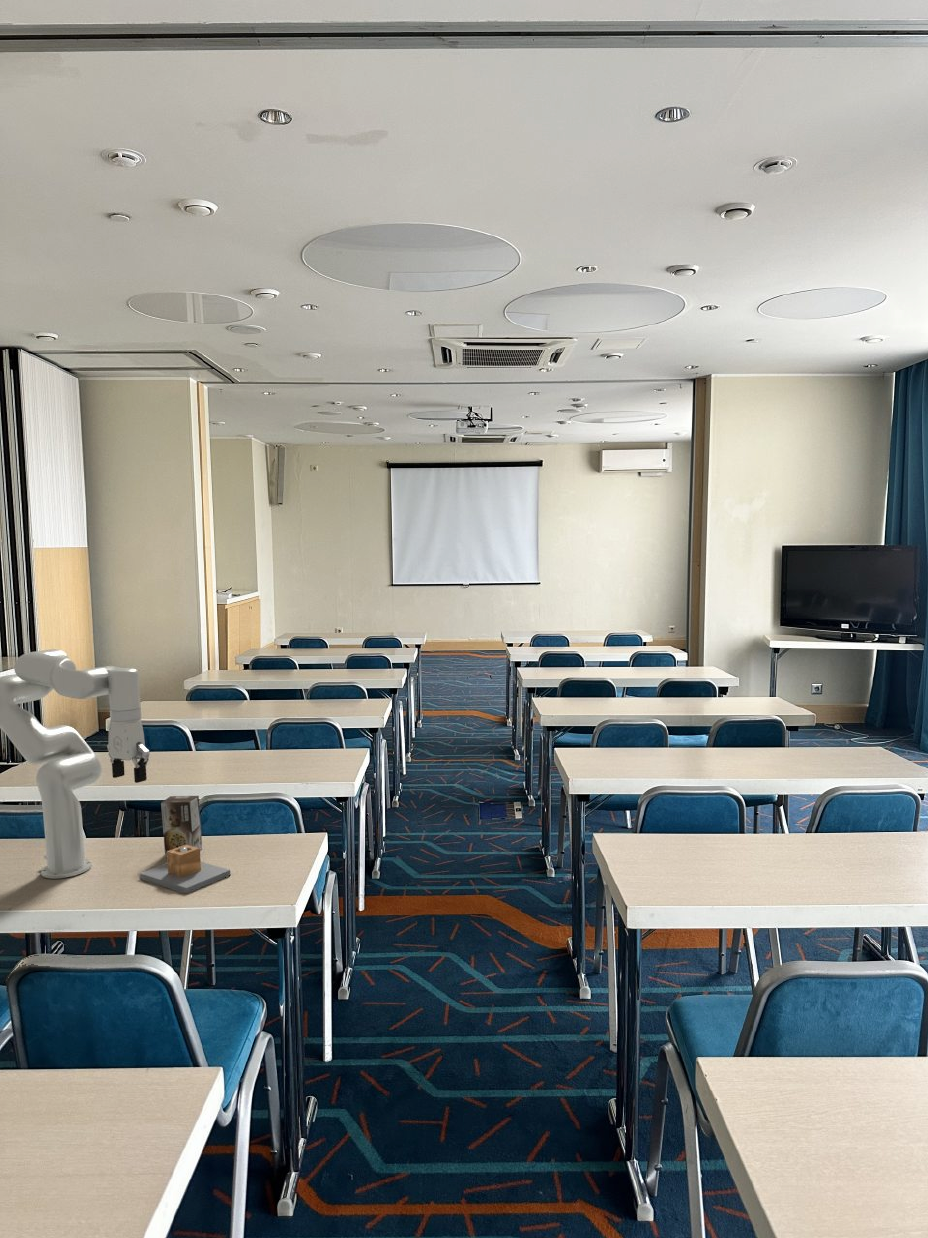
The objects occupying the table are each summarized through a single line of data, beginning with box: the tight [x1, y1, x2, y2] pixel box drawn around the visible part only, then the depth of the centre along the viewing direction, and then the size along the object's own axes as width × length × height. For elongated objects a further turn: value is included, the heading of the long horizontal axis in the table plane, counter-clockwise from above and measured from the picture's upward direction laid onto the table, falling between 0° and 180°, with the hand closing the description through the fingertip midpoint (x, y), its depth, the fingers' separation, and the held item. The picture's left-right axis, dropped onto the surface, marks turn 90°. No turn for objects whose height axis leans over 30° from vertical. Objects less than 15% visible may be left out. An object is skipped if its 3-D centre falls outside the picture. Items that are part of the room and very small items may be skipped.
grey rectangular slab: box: [139, 861, 232, 894], centre depth 222 cm, size 20×14×2 cm
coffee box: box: [160, 795, 203, 857], centre depth 241 cm, size 9×6×16 cm
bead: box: [166, 845, 202, 877], centre depth 222 cm, size 6×6×6 cm
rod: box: [180, 847, 187, 853], centre depth 222 cm, size 2×2×6 cm
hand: (129, 779), depth 218 cm, fingers open, 9 cm apart
